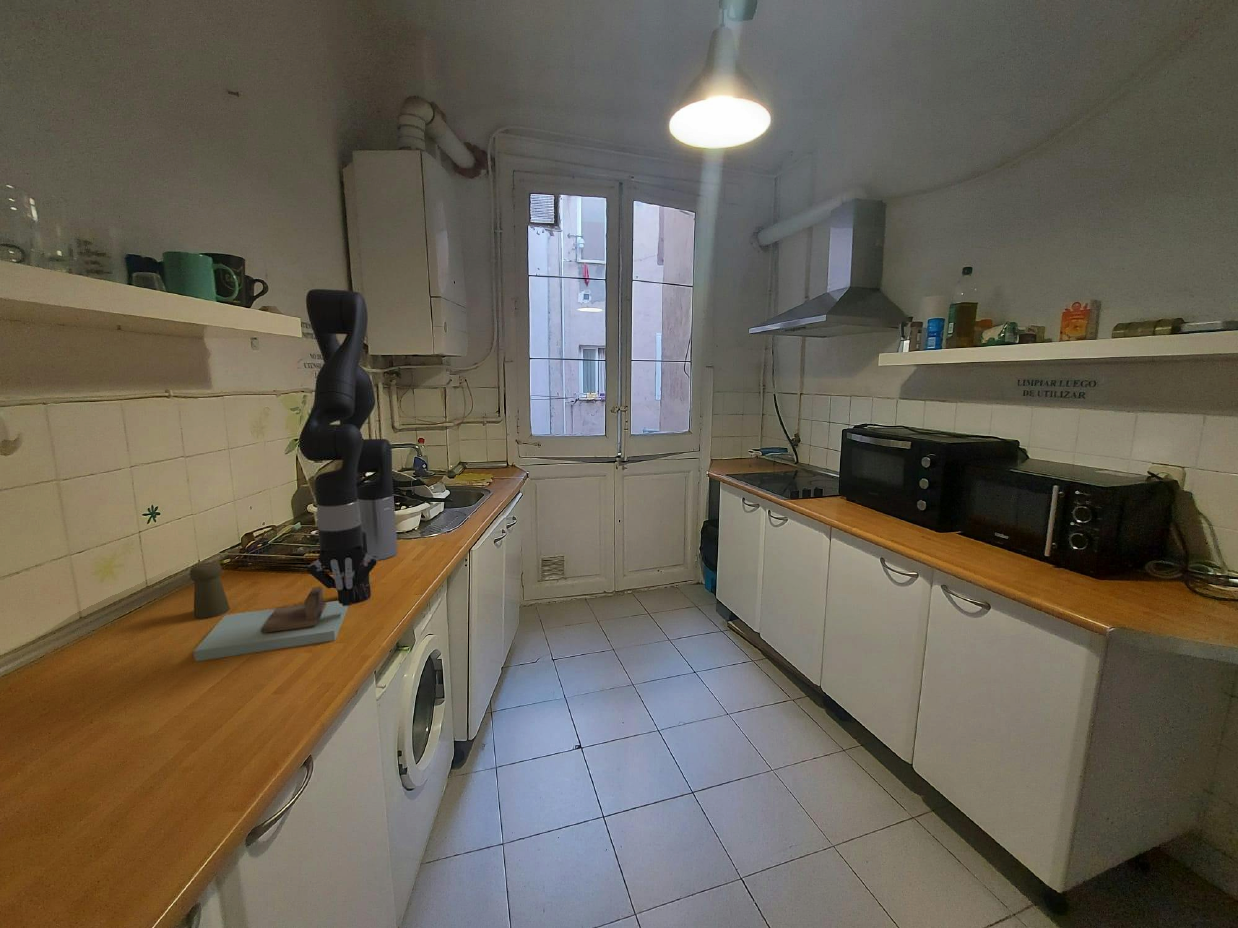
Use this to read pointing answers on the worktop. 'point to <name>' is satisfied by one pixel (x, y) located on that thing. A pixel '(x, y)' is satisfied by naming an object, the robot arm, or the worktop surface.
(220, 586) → the cork
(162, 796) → the worktop surface
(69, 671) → the worktop surface
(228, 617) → the socket board
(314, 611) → the cover
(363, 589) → the deodorant
